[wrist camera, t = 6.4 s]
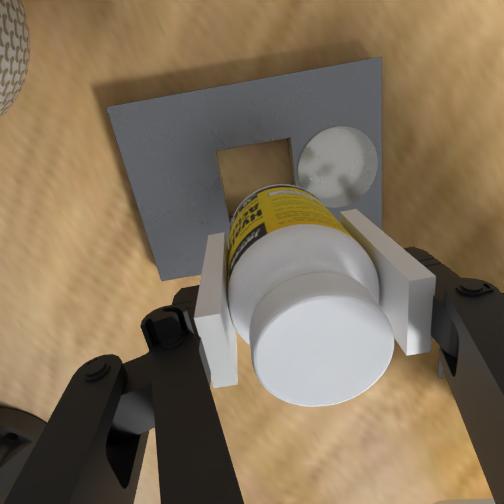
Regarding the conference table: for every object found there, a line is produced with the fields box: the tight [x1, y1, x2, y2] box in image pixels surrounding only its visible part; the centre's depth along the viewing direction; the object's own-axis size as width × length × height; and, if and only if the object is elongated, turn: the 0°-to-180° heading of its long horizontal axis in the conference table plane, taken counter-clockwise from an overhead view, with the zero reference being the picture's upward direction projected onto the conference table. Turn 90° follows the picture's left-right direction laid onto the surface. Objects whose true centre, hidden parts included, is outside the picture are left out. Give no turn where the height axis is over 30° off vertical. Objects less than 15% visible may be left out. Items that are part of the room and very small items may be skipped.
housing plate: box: [106, 57, 382, 281], centre depth 30 cm, size 22×16×2 cm
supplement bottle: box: [228, 184, 394, 407], centre depth 14 cm, size 5×5×10 cm
